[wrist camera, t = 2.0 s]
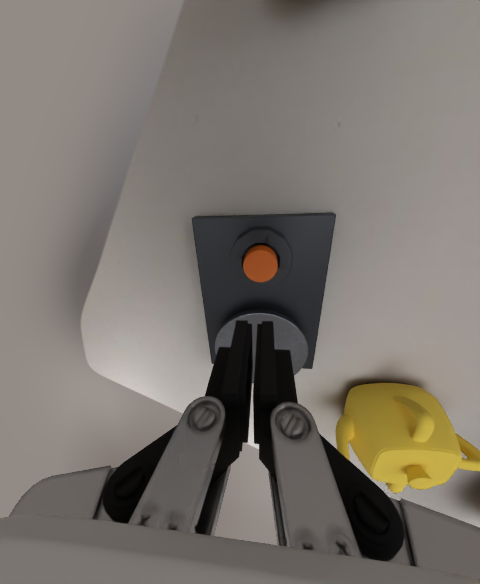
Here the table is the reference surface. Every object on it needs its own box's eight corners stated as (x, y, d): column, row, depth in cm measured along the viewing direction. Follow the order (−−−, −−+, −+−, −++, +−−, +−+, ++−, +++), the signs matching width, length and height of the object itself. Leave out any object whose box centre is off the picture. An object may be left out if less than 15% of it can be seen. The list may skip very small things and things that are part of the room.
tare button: (245, 275, 22) (243, 282, 21) (244, 245, 21) (242, 250, 19) (276, 275, 22) (277, 282, 21) (277, 244, 21) (278, 249, 19)
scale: (213, 357, 32) (208, 373, 29) (194, 216, 23) (185, 221, 20) (310, 362, 30) (315, 379, 28) (332, 212, 21) (342, 217, 19)
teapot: (360, 437, 37) (390, 520, 28) (311, 398, 34) (327, 478, 25) (444, 404, 31) (517, 495, 22) (395, 354, 28) (455, 436, 19)
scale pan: (219, 376, 29) (218, 381, 29) (211, 308, 24) (210, 312, 24) (302, 381, 28) (303, 387, 27) (311, 310, 23) (313, 314, 22)
